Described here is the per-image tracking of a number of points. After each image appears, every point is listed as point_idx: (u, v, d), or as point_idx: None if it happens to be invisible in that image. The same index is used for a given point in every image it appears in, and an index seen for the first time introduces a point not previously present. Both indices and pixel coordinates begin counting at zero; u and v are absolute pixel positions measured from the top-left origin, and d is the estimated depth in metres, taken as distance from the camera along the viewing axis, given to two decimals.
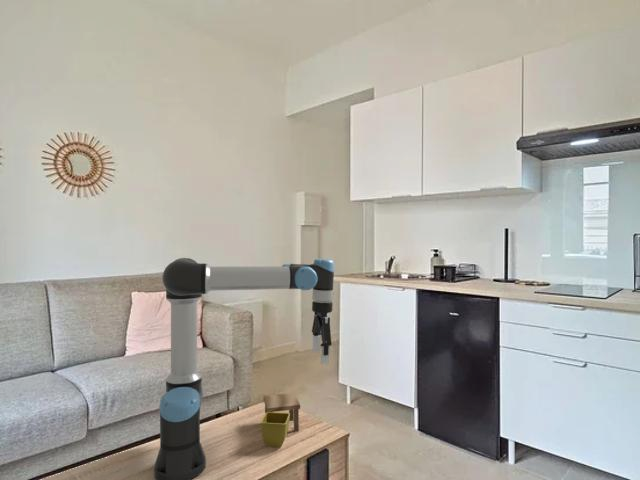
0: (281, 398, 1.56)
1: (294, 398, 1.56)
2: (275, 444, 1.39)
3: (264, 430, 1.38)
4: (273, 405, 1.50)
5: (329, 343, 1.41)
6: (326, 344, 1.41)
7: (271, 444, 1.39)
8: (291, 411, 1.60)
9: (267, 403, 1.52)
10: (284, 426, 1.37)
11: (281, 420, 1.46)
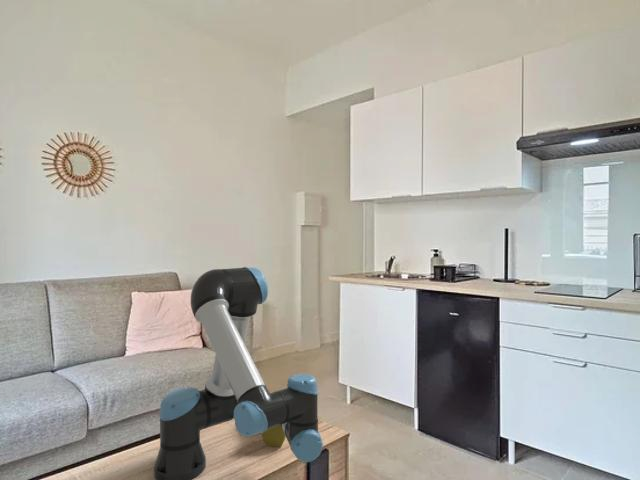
0: None
1: None
2: (275, 444, 1.39)
3: None
4: None
5: None
6: None
7: (271, 444, 1.39)
8: None
9: None
10: None
11: None
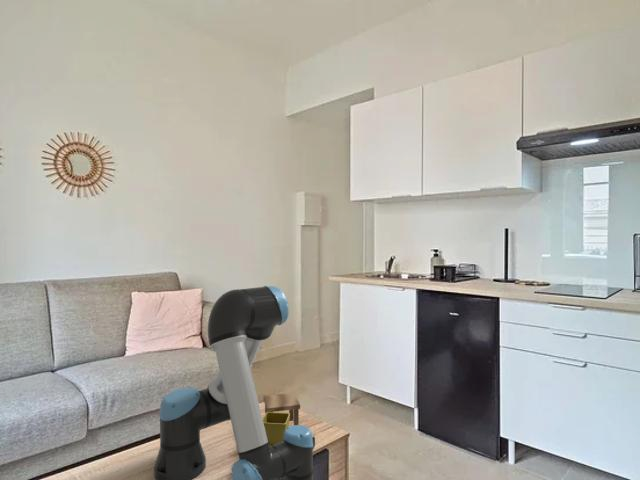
0: (281, 398, 1.56)
1: (294, 398, 1.56)
2: None
3: None
4: (273, 405, 1.50)
5: None
6: None
7: (271, 444, 1.39)
8: (291, 411, 1.60)
9: (267, 403, 1.52)
10: (284, 426, 1.37)
11: (281, 420, 1.46)
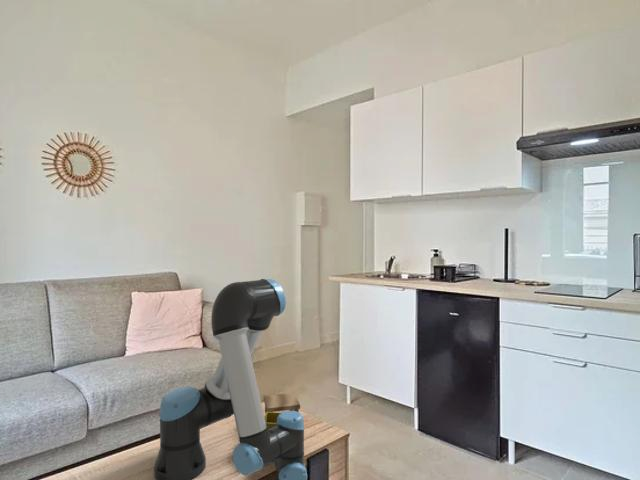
0: (281, 398, 1.56)
1: (294, 398, 1.56)
2: None
3: None
4: (273, 405, 1.50)
5: None
6: None
7: None
8: None
9: (267, 403, 1.52)
10: None
11: None
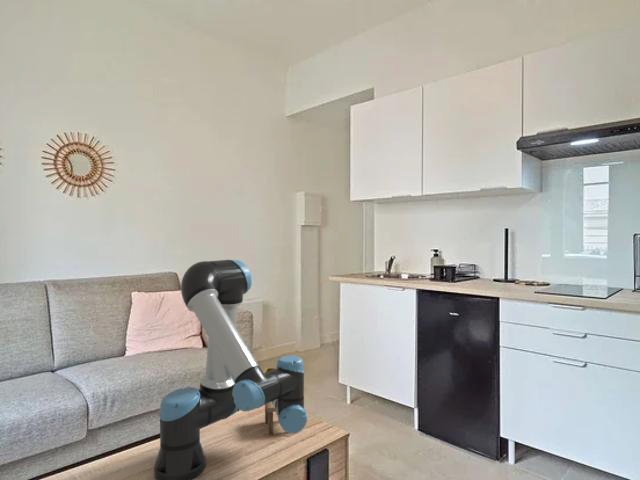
0: None
1: None
2: None
3: None
4: None
5: None
6: None
7: None
8: None
9: (267, 403, 1.52)
10: None
11: None
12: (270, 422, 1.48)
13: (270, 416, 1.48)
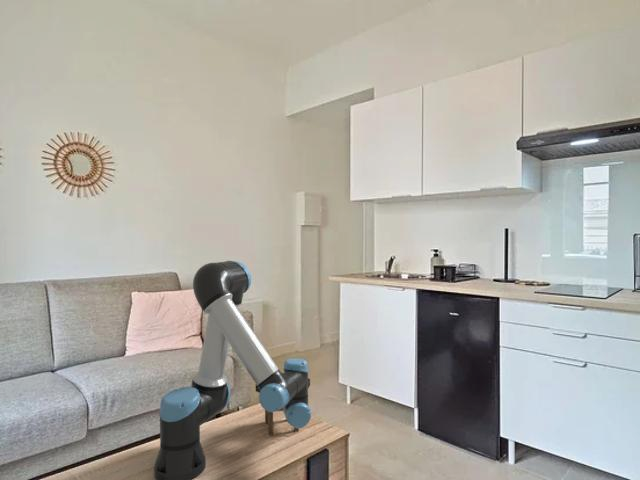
0: None
1: None
2: None
3: None
4: None
5: (256, 389, 1.47)
6: None
7: None
8: None
9: None
10: None
11: None
12: (270, 422, 1.48)
13: (270, 416, 1.48)
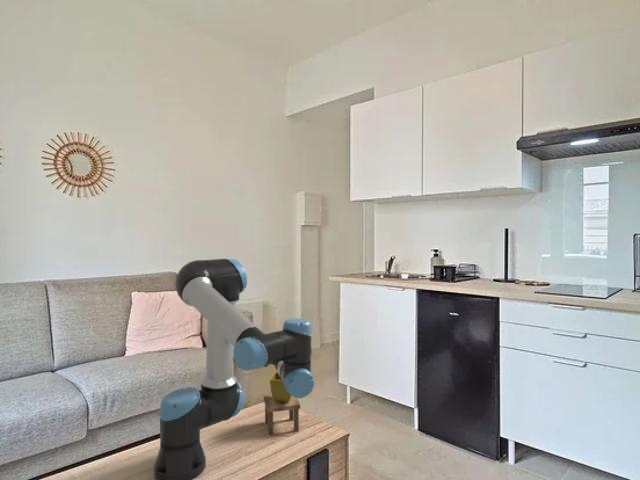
0: None
1: (294, 398, 1.56)
2: (283, 399, 1.52)
3: (273, 386, 1.51)
4: (273, 405, 1.50)
5: None
6: None
7: (279, 399, 1.52)
8: (291, 411, 1.60)
9: (267, 403, 1.52)
10: None
11: None
12: (270, 422, 1.48)
13: (270, 416, 1.48)
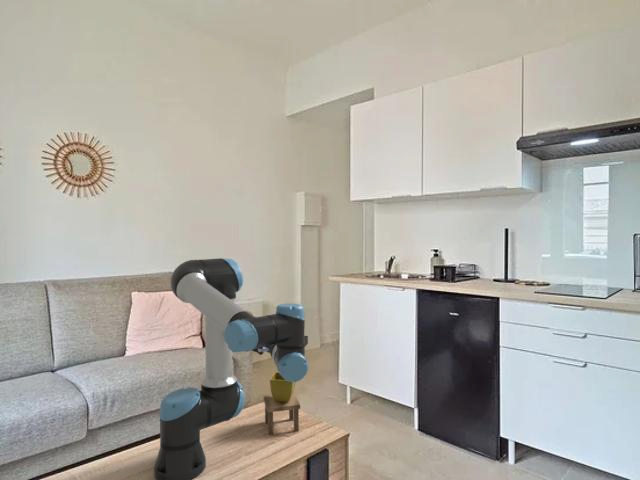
0: None
1: (294, 398, 1.56)
2: (283, 399, 1.52)
3: (273, 386, 1.51)
4: (273, 405, 1.50)
5: None
6: None
7: (279, 399, 1.52)
8: (291, 411, 1.60)
9: (267, 403, 1.52)
10: (291, 382, 1.50)
11: None
12: (270, 422, 1.48)
13: (270, 416, 1.48)
